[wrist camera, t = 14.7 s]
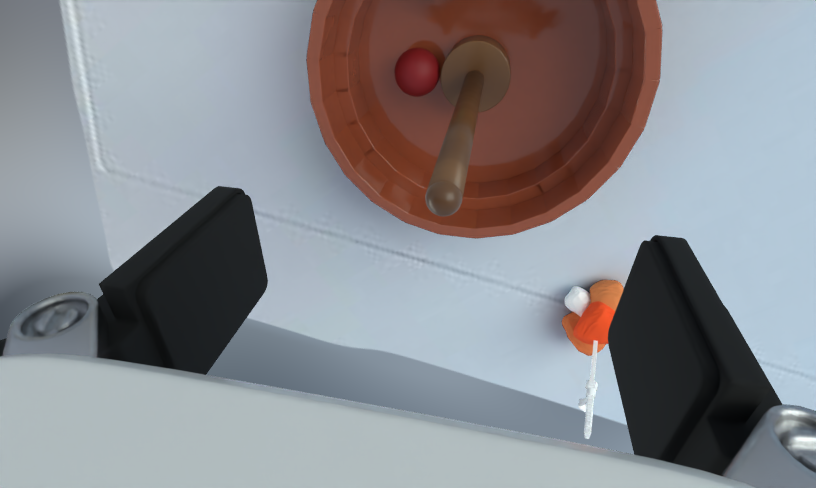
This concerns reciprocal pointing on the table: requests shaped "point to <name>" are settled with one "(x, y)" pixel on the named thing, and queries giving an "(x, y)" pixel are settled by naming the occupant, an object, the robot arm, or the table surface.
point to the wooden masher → (465, 113)
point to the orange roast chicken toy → (591, 329)
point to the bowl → (497, 127)
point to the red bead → (417, 72)
